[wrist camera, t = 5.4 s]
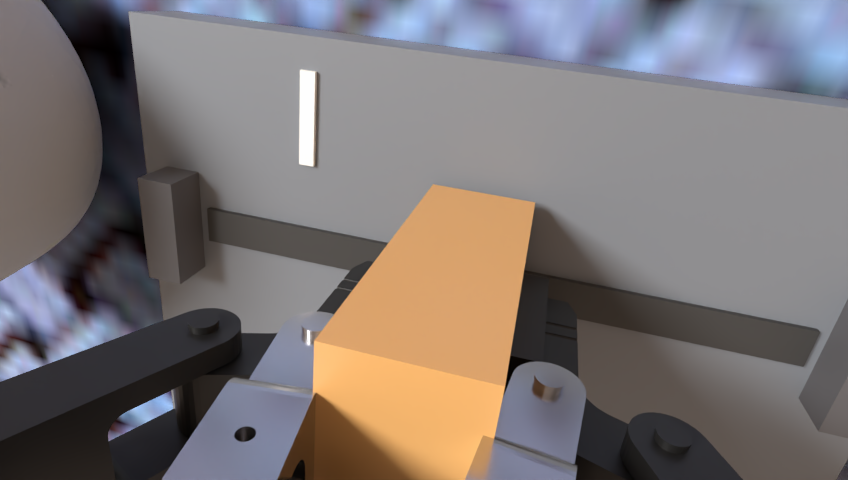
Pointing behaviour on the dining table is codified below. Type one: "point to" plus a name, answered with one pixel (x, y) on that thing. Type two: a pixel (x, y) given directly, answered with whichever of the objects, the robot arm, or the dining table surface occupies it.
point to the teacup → (42, 135)
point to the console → (530, 181)
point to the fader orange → (423, 343)
